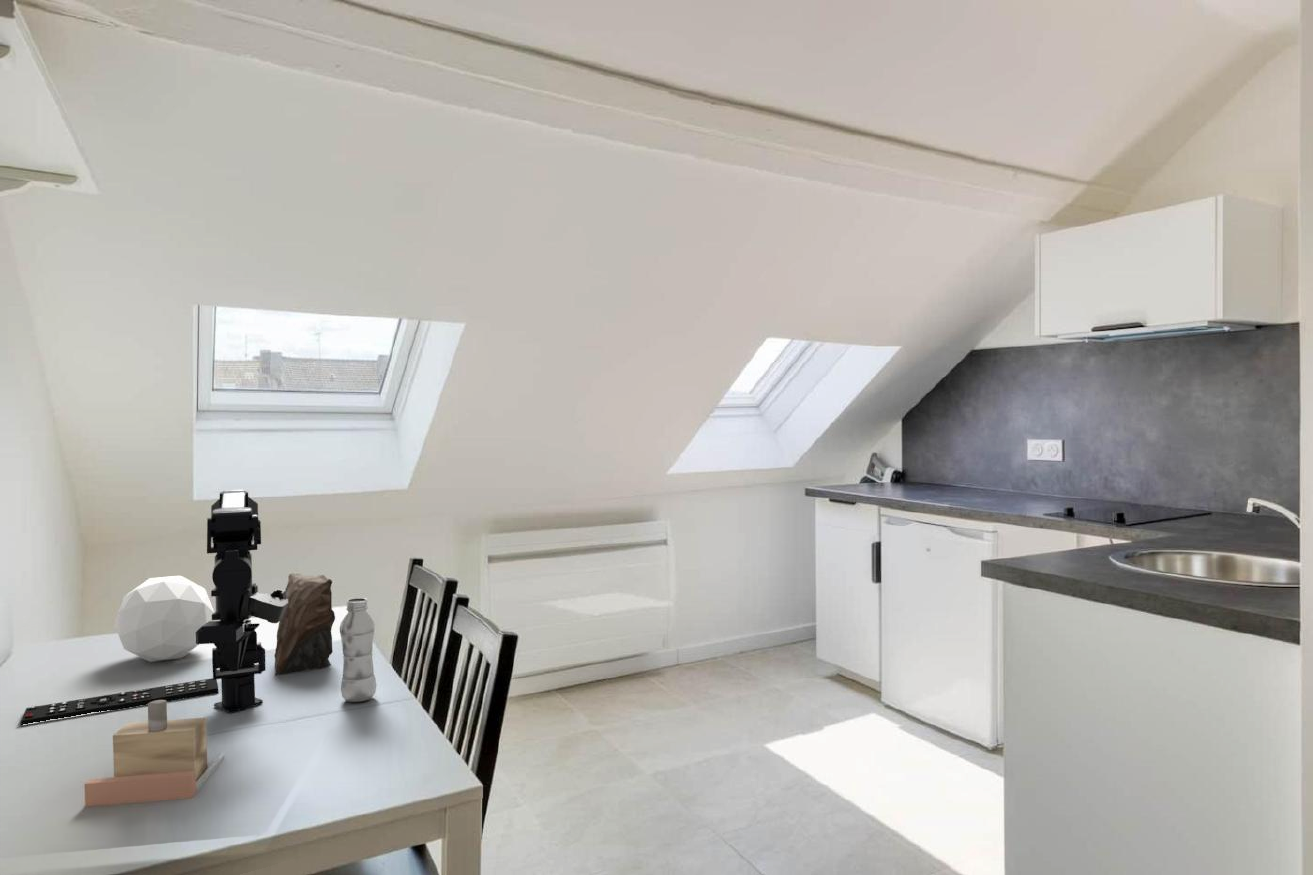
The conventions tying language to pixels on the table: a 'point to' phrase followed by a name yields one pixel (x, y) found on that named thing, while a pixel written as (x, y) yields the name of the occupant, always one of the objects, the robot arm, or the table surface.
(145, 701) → the remote control
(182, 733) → the plate
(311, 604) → the brown rock
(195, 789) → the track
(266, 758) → the table surface
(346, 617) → the plastic bottle
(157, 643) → the ball
